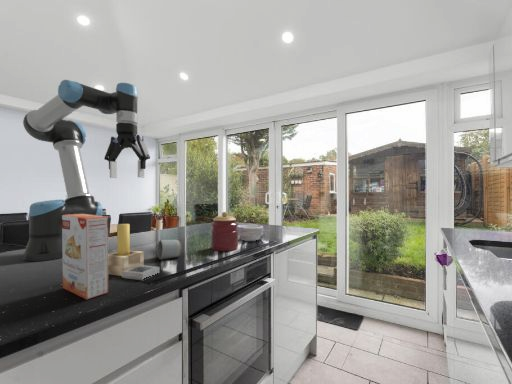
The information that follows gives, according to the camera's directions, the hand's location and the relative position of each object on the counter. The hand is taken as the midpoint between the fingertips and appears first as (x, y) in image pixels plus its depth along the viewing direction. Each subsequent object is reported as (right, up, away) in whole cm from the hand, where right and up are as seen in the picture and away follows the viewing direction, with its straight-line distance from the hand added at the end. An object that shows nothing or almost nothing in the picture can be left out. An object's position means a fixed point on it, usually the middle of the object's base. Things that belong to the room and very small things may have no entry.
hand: (126, 177), depth 107 cm
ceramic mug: (+15, -33, +5) cm, 36 cm away
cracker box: (+4, -33, -33) cm, 47 cm away
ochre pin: (+6, -33, -14) cm, 36 cm away
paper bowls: (+48, -33, +46) cm, 74 cm away
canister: (+36, -33, +22) cm, 54 cm away
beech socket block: (+6, -33, -14) cm, 36 cm away
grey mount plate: (+14, -33, -19) cm, 40 cm away
